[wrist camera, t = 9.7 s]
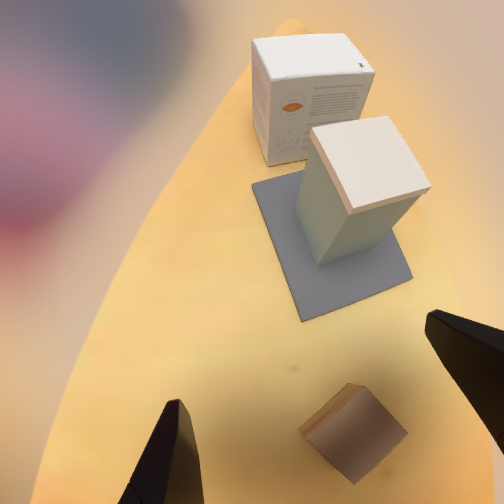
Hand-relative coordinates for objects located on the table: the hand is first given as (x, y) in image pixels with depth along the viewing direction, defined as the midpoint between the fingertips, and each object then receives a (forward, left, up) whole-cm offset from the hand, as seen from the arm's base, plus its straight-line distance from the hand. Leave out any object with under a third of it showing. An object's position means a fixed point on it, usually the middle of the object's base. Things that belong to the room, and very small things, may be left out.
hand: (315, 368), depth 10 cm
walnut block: (-6, -3, -14) cm, 15 cm away
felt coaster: (+9, -7, -13) cm, 18 cm away
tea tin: (+9, -7, -13) cm, 17 cm away
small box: (+19, -8, -14) cm, 24 cm away
